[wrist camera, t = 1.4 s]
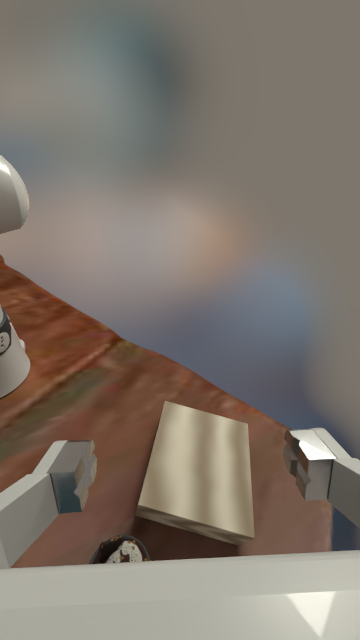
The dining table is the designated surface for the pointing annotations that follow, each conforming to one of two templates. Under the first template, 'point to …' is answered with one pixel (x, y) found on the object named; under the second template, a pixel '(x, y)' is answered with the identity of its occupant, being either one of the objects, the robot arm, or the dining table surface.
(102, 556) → the sundae
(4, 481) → the dining table surface
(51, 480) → the robot arm
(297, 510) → the dining table surface
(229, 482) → the cream block
